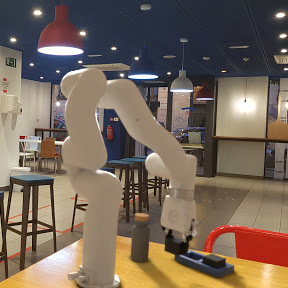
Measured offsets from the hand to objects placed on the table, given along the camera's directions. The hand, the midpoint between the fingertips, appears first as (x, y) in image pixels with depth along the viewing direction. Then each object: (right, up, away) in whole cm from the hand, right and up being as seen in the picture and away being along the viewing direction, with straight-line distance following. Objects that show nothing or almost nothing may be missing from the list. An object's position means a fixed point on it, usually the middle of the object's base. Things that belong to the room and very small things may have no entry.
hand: (176, 250), depth 118 cm
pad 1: (0, -1, 0) cm, 1 cm away
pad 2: (+12, -7, +1) cm, 14 cm away
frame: (+10, -6, +4) cm, 13 cm away
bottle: (-10, -5, +8) cm, 14 cm away
